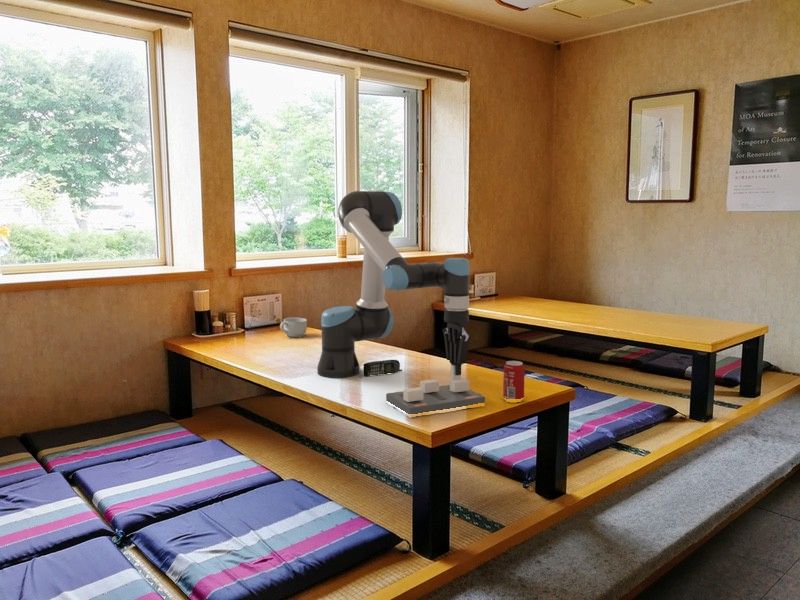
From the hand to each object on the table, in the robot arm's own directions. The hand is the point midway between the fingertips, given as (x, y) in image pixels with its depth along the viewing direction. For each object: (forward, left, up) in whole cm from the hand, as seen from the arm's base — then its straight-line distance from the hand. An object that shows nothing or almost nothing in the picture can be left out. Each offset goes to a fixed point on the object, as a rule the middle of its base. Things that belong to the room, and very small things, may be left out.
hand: (455, 384), depth 199 cm
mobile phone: (-38, -7, -5) cm, 39 cm away
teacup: (-118, -17, -5) cm, 119 cm away
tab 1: (+5, -17, -1) cm, 18 cm away
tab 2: (-1, -8, -1) cm, 9 cm away
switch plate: (+2, -9, -5) cm, 10 cm away
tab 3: (+2, 0, -1) cm, 3 cm away
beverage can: (+9, +15, -5) cm, 18 cm away
